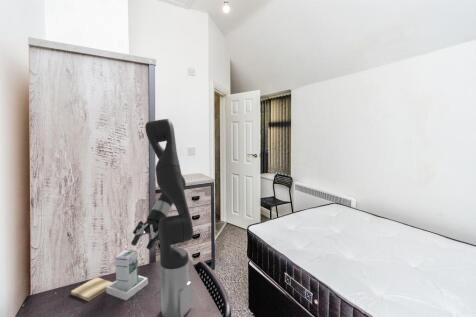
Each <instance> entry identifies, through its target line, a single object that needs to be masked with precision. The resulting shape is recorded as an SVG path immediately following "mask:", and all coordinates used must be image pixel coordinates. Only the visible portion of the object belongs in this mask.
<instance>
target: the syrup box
mask: <svg viewBox="0 0 476 317" xmlns="http://www.w3.org/2000/svg"><path fill="white" fill-rule="evenodd" d="M114 260H115V278H116V280H115V281H116V282H117V288H116V289H119V290H122V291H124V292H127V291H129V290H130V289H131V288H133V287H134V286H136V285H137V284H138V283H139V281H138V275H139V265H138V264H139V260H138V251H137V250H133V249H131V250H130V249H124V250H123V251H122V252H120V253H119V254H118V255H116V256H115V258H114Z"/></svg>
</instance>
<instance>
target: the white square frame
mask: <svg viewBox="0 0 476 317" xmlns="http://www.w3.org/2000/svg"><path fill="white" fill-rule="evenodd" d="M138 281H139V283H138V284H137V285H136V286H134V287H133V288H131V289H130V290H129V291H127V292H124V291H122V290H119V289H117V282H116V280H114V281H112V282H113V283H111V284H110V285H108V286H107V287H106V290H105V292H106V294H108V295H111V296H112V297H116V298H119V299H121V300H124V301H127V300H129V299H131V298H132V297H133V296H135V294H137V293H138V292H140V290H143V288H145V287H146V286H147V285H148V284H149V278H148V277H146V276H142V275H139V274H138Z"/></svg>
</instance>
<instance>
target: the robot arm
mask: <svg viewBox="0 0 476 317" xmlns="http://www.w3.org/2000/svg"><path fill="white" fill-rule="evenodd" d="M144 129H145V134H146V137H147V140H148V141H149V144H150V146H151V148H152V150H153V152H154V153H155V156H156V158H157V159H158V161H157V163H156V165H155V177H156V183H157V186H158V188H159V190H161V194H160V195H159V197H158V199H157V200H156V202H155V203H154V205H153V206H152V209H151V210H150V211H149V214H148V215H147V217H146V221H145V222H143V221H142V220H140V221H139V222H138V224H137V225H136V226H135V228H134V230H133V231H132V233H133V235H134V237H133V238H132V240H131V245H132V246H133V247H135V246H136V245H137V243H138V242H139V240H140V238H141V237H142V236H144V235H146V234H147V235H150V236H151V239H150V240H149V241H148V243H147V245H146V249H147V250H152V249H153V246H154V245H155V243H156V242H158V241H159V258H160V262H159V264H160V266H159V267H160V303H161V305H160V307H161V316H162V317H185V316H186V314H188V312H190V310H191V309H192V282H191V281H189V253H188V251H187V250H186V249H184V248H180V247H174V246H172V245H176V244H180V243H185V242H189V241H191V240H192V239H193V235H194V228H193V222H192V218H191V214H190V210H189V207H188V203H187V199H186V194H185V189H186V185H187V184H186V183H187V182H186V180H185V177H184V176H183V174H182V171H181V167H180V166H181V165H180V161H179V157H178V151H177V144H176V137H175V128H174V124H173V122H172V120H171V119H169V118H164V119H163V118H162V119H157V120H152V121H151V120H150V121H148V122H146V123H145V126H144ZM163 142H166V143H165V146H164V147H165V148H163V147H162V146H161V144H160V143H163ZM173 205H174V207H175V209H176V210H177V211H176V212H177V214H175V215H170V216H168V214H169V212H170V210H171V208H172V206H173Z"/></svg>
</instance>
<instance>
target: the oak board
mask: <svg viewBox="0 0 476 317" xmlns="http://www.w3.org/2000/svg"><path fill="white" fill-rule="evenodd" d="M113 282H114V281H110V280H107V279H103V278H101V277H97V276H96V277H93V278H92V279H90V280H88V281H86V282H85V283H84V284H82V285H79V286H77V287H76V288H74V289H72V290H71V291H70V294H71V295H72V296H74V297H77V298H80V299H83V300H85V301H87V302H90V301H91V300H93V299H94V298H96V297H97V296H99V295H101V294H103V293H104V292H106V287H107V286H108V285H110V284H111V283H113Z"/></svg>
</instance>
